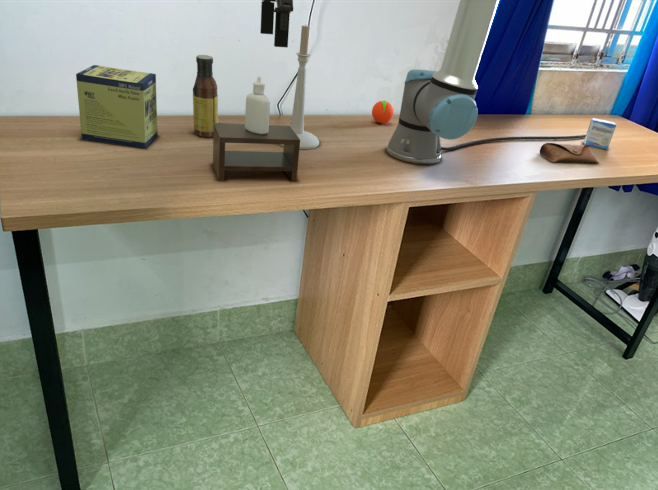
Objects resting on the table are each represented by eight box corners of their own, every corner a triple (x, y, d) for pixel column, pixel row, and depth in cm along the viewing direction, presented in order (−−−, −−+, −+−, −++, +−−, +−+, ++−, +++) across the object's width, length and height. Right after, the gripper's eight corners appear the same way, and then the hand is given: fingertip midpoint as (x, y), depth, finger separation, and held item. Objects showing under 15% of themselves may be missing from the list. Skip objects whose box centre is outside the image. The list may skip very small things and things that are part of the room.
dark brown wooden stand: (286, 165, 152) (290, 126, 147) (296, 181, 145) (300, 139, 139) (212, 164, 146) (213, 122, 141) (218, 180, 138) (219, 137, 133)
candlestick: (266, 143, 165) (273, 22, 149) (280, 130, 175) (288, 17, 160) (312, 152, 164) (325, 31, 148) (323, 139, 175) (335, 25, 159)
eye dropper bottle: (260, 127, 143) (263, 73, 137) (270, 135, 139) (273, 80, 133) (243, 127, 141) (245, 73, 135) (251, 135, 137) (254, 80, 131)
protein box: (146, 149, 148) (143, 83, 140) (80, 140, 147) (74, 72, 139) (159, 136, 157) (157, 73, 149) (97, 127, 156) (91, 63, 148)
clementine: (392, 128, 194) (396, 105, 190) (370, 125, 193) (374, 102, 189) (390, 121, 200) (394, 99, 197) (369, 118, 200) (373, 96, 196)
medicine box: (584, 145, 210) (592, 120, 205) (583, 141, 213) (591, 117, 209) (607, 150, 209) (616, 124, 204) (606, 146, 212) (615, 121, 208)
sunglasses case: (554, 162, 186) (553, 139, 186) (539, 166, 192) (539, 144, 192) (601, 163, 192) (601, 141, 192) (586, 167, 199) (585, 146, 198)
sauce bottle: (207, 129, 167) (208, 52, 157) (222, 136, 164) (224, 58, 154) (187, 132, 163) (187, 54, 152) (203, 139, 160) (203, 60, 149)
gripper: (248, -80, 130) (245, 27, 141) (274, -73, 111) (269, 51, 122) (282, -76, 133) (277, 30, 144) (314, -67, 113) (305, 54, 125)
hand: (273, 40), depth 133 cm, fingers open, 13 cm apart
